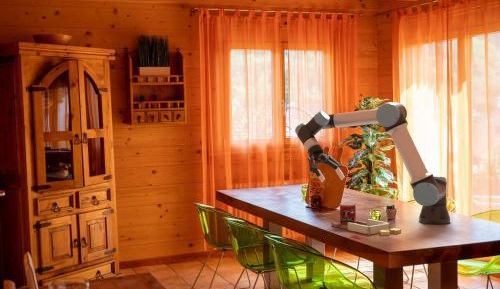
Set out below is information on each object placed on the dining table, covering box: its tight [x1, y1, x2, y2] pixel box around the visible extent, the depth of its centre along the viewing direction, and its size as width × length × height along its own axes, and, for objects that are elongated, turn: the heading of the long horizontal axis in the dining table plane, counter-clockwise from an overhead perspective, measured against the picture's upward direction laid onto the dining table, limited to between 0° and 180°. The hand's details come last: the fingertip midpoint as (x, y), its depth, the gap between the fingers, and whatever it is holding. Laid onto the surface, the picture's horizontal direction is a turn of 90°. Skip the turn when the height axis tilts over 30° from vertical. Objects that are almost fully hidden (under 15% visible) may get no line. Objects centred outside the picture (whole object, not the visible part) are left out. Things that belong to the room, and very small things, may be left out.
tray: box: [347, 218, 392, 235], centre depth 288 cm, size 14×14×4 cm
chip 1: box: [379, 230, 391, 236], centre depth 279 cm, size 4×4×2 cm
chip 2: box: [389, 227, 402, 235], centre depth 281 cm, size 4×4×2 cm
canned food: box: [339, 201, 357, 226], centre depth 300 cm, size 8×8×11 cm
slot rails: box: [330, 219, 367, 231], centre depth 300 cm, size 12×14×2 cm
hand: (333, 179), depth 307 cm, fingers open, 13 cm apart
